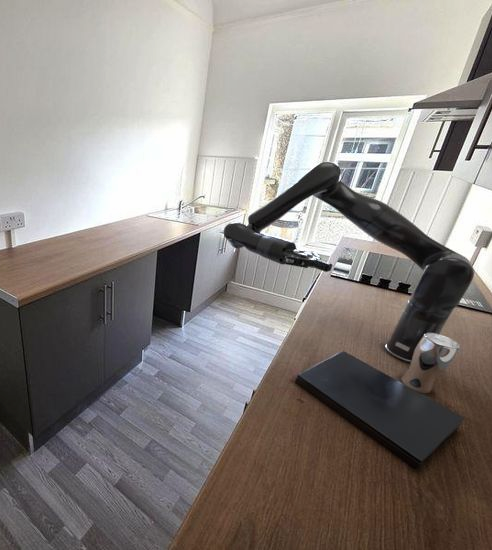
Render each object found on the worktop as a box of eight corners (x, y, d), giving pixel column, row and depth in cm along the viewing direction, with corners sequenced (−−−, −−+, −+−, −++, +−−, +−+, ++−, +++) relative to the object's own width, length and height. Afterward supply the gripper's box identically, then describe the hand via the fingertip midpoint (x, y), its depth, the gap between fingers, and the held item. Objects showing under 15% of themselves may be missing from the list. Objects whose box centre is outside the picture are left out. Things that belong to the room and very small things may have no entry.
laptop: (338, 361, 89) (341, 355, 88) (456, 430, 68) (460, 424, 67) (294, 382, 79) (296, 376, 79) (415, 469, 58) (420, 463, 58)
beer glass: (425, 398, 76) (454, 351, 70) (394, 380, 82) (418, 335, 76) (437, 389, 80) (465, 344, 74) (405, 373, 85) (429, 329, 79)
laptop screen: (342, 352, 87) (343, 350, 87) (463, 420, 67) (465, 417, 66) (296, 377, 79) (297, 374, 78) (419, 464, 58) (421, 461, 57)
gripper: (264, 239, 90) (320, 258, 76) (291, 236, 96) (348, 252, 82) (258, 262, 93) (311, 284, 79) (285, 257, 99) (339, 277, 85)
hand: (330, 268), depth 81 cm, fingers closed
